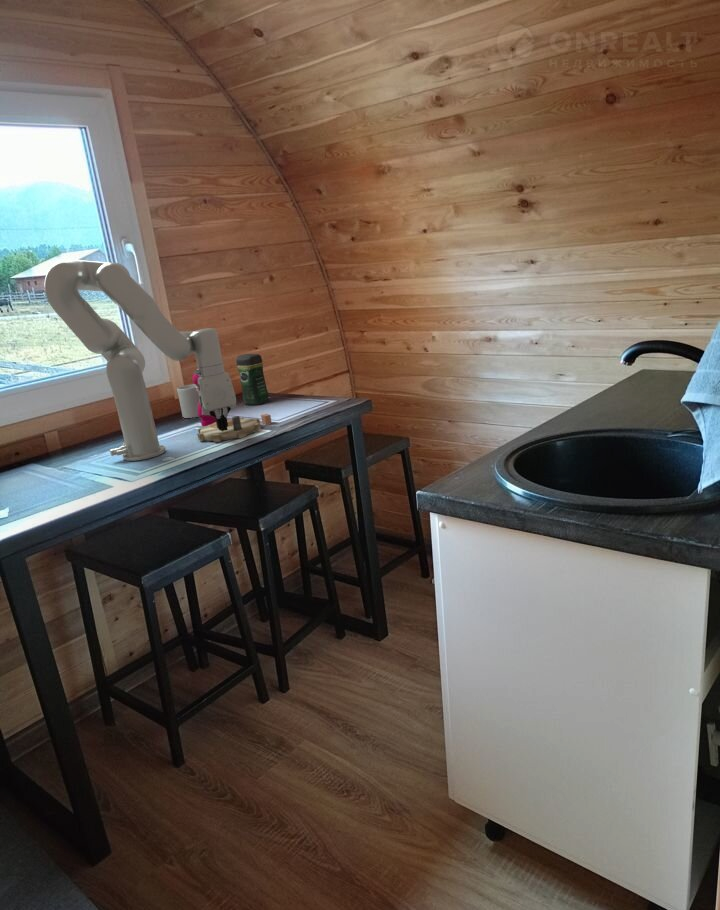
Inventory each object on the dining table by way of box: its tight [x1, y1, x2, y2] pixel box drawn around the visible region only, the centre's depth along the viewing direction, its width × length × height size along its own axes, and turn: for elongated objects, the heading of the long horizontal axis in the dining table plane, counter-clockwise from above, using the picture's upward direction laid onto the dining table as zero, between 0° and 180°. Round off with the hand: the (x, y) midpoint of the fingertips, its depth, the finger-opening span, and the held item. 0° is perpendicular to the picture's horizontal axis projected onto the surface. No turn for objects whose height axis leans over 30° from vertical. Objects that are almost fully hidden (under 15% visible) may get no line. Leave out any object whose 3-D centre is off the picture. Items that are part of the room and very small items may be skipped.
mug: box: [176, 383, 199, 419], centre depth 259 cm, size 12×8×11 cm
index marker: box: [260, 413, 273, 426], centre depth 233 cm, size 2×3×3 cm, turn 32°
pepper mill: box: [192, 373, 220, 427], centre depth 242 cm, size 7×7×20 cm
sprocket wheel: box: [196, 415, 262, 443], centre depth 226 cm, size 20×20×6 cm
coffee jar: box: [235, 353, 270, 406], centre depth 266 cm, size 10×8×19 cm
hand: (223, 429), depth 218 cm, fingers closed
